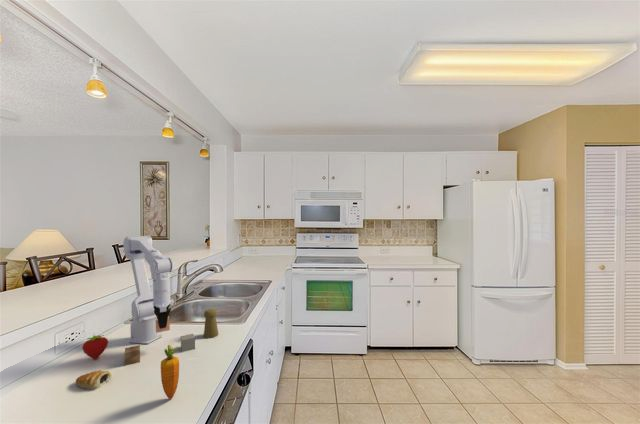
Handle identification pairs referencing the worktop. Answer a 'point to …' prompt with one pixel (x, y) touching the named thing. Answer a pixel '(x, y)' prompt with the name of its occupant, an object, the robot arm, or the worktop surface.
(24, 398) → the worktop surface
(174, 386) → the carrot
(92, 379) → the pastry
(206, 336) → the pepper mill
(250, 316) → the worktop surface
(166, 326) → the terracotta cube
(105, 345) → the strawberry
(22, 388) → the worktop surface
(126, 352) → the walnut cube
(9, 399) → the worktop surface
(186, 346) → the gray cube
